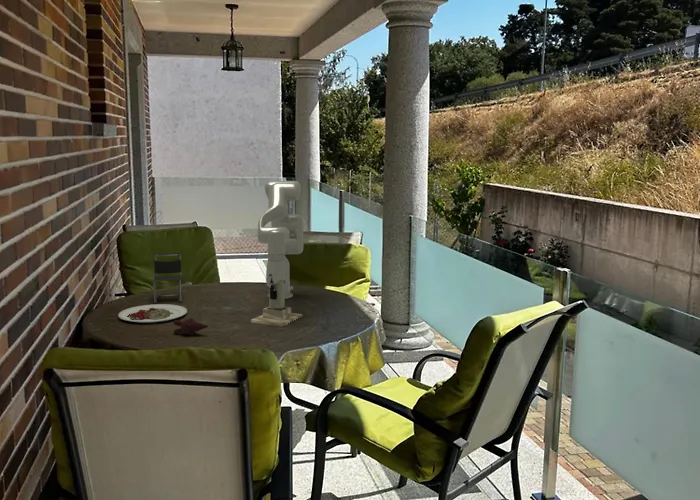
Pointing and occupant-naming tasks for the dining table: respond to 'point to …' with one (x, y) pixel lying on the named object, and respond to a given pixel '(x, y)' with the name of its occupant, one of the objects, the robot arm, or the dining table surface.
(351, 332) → the dining table surface
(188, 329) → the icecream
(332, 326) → the dining table surface
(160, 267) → the chair
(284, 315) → the socket stand
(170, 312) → the plated food
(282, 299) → the skincare box
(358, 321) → the dining table surface
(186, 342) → the dining table surface
